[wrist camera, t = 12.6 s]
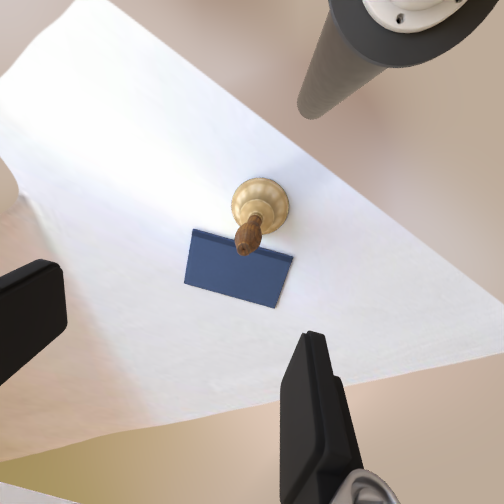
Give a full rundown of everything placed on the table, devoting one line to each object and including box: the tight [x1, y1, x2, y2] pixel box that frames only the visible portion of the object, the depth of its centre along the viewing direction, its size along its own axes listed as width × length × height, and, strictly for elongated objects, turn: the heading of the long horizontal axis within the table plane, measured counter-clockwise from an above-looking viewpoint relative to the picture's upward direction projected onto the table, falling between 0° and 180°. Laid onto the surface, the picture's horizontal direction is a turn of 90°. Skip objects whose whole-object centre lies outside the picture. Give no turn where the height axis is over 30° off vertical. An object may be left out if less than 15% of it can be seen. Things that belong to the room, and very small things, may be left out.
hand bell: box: [231, 178, 289, 256], centre depth 29 cm, size 8×8×16 cm
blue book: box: [184, 229, 293, 309], centre depth 40 cm, size 10×16×1 cm, turn 75°
